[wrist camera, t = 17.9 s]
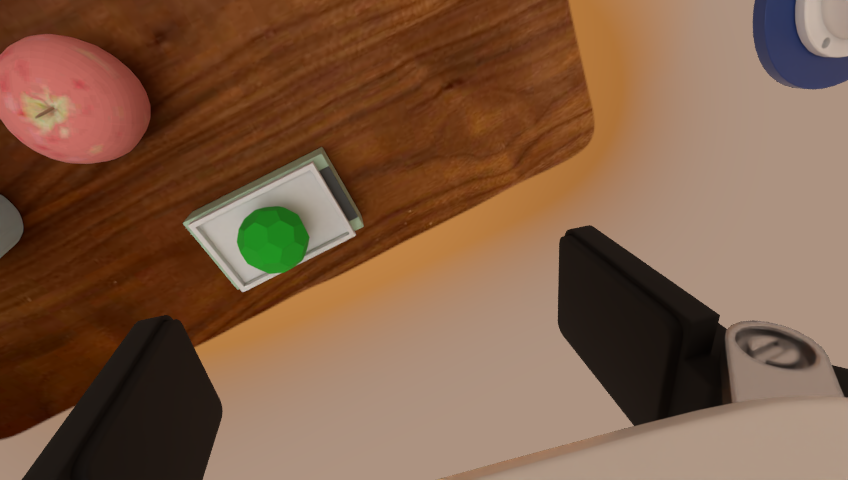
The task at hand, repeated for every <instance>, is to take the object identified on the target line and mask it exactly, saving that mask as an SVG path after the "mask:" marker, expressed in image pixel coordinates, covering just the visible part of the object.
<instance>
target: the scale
mask: <svg viewBox="0 0 848 480" xmlns="http://www.w3.org/2000/svg"><path fill="white" fill-rule="evenodd" d="M274 206H280V207H284V208H286V209H288V210H290V211H292V212H294V213H296V214H298V216H299V217H300V219H301V221H302V223H303V225H304V227H305V228H306V231H307V233H308V235H309V237H310V239H309V243H308V248H307V251H306V254H305V256H304V259H303V260H302V261H301V262H300V263H302V262H304V261H306V260H308V259H310V258H312V257H314V256H316V255H318V254H320V253H322V252H324V251H326V250H328V249H330V248H332V247H334V246H336V245H338V244H340V243H342V242H344V241H346V240H348V239H350V238H352V237H354V236H356V234H355V231H356V230H358V229H360V228H362V227H364V225H363V220H362V216H361V214H360V212H359V210H358V209H357V207H356V205H355V203H354V202H353V200H352V198H351V196H350V195H349V193H348V191H347V189H346V188H345V186H344V184H343V182H342V181H341V179H340V177H339V175H338V174H337V172H336V170H335V168H334V167H333V165H332V163H331V161H330V160H329V158H328V156H327V154H326V153H325V151H324V149H323V148H322V147H321V148H319V149H317V150H315V151H313V152H311V153H309V154H307V155H305V156H303V157H301V158H299V159H297V160H295V161H293V162H291V163H289V164H287V165H285V166H283V167H281V168H279V169H277V170H275V171H273V172H271V173H269V174H267V175H265V176H263V177H261V178H259V179H257V180H255V181H253V182H251V183H249V184H247V185H245V186H243V187H241V188H239V189H237V190H235V191H233V192H231V193H229V194H227V195H225V196H223V197H221V198H219V199H217V200H215V201H213V202H211V203H209V204H207V205H205V206H203V207H201V208H199V209H197V210H195V211H193V212H192V213H191V214H190V215H189V216H188V217H187V219H186V220H185V221H184V222H183V224H184V226H185V227H186V228H187V229H188V230H189V232H190V233H191V234H192V235H193V237H194V238H195V239H196V240H197V241H198V243H199V244H200V245H201V246H202V247H203V249H204V250H205V251H206V252H207V253H208V255H209V256H210V257H211V258H212V259H213V261H214V262H215V263H216V264H217V266H218V267H219V268H220V269H221V270H222V272H223V273H224V274H225V275H226V276H227V278H228V279H229V280H230V281H231V282H232V284H233V285H234V286H235V287H236V288H237V290H238V289H240V290H241V291H242V292H245V291H247V290H249V289H251V288H252V287H254V286H256V285H258V284H260V283H262V282H264V281H266V280H268V279H270V278H272V277H274V276H276V275H278V274H280V273H275V274H269V273H266V272H264V271H261V270H259V269H257V268H255V267H253V266H251V265H249V264H247V262H246V261H245V259H244V258H243V256H242V255H241V253H240V250H239V247H238V244H237V237H238V230H239V228H240V226H241V224H242V222H243V220H244V219H245V218H246V217H247V216H248V215H249V214H251V213H252V212H253V211H254V210H256V209H260V208H264V207H274ZM300 263H298V264H300ZM298 264H297V265H298Z"/></svg>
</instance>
